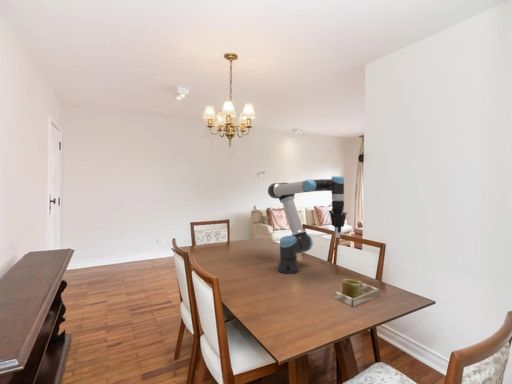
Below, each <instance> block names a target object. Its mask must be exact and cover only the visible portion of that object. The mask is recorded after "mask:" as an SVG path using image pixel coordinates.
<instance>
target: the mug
mask: <svg viewBox="0 0 512 384" xmlns="http://www.w3.org/2000/svg"><path fill="white" fill-rule="evenodd" d="M362 283H363V282H362V281H360V280H354V279H349V278H348V279H347V278H344V279H342V294H343V295H346V296H348V297H351V298H356V297H358V296H360V292H361V290H360V289H361V288H362Z"/></svg>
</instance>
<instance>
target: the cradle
mask: <svg viewBox="0 0 512 384" xmlns="http://www.w3.org/2000/svg"><path fill="white" fill-rule="evenodd" d="M360 291H364V292H365V293H364V294H362V295H359V296H358V297H356V298H351V297H348V296H346V295H343V293H341V292H338V291H337V290H336V291H334V296H333V297H334V299H335V300H338V301H339V302H342V303H344V304H346V305H348V306H350V307H353V308H354V307H357V306H359V305H361V304H364V303H367V302H369V301H371V300H373V299H377V298H378V297H380V296H381V289H380V288H376V287H374V286H371V285H369V284H365V283H363V282H362V288H361V289H360Z"/></svg>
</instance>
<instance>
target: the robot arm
mask: <svg viewBox="0 0 512 384" xmlns="http://www.w3.org/2000/svg"><path fill="white" fill-rule="evenodd" d="M325 191H327V192H331V200H332V201H331V210H328V213H329V216H330V220H331V225H332V227H334V232H335V238H336V239H337V238H338V239H339V238H341V232H342V228H343V227H344V226H345V221H346V217H347V215H348V212H346V211H345V208H344V207H345V201H344V200H345V178H344V176H342V175H337V176H336V175H333V176H331V178H330V179H324V178H320V179H306V180H301V181H296V182H280V183H279V182H276V183H275V182H274V183H272V184H270V185H269V186H268V188H267V194H268V196H270V198H272V199H279V202H280V203H281V204H282V206H283V208H284V212H285V214H286V218H287V219H286V220H287V222H288V225H289V228H290V230H291V235H284V236H282V237H281V238H280V240H279V262H278V265H277V272H279V273H281V274H286V275H287V274H289V275H291V274H297V273H299V272H300V266H299V262H298V257H297V256H298V254H302V253H306V252H308V251H310V250H312V248H313V245H314V242H313V238H312V237H311V236H310V235H309V234H307V231H306V230H304V228H303V226H302V225H303V224H302V221H301V218H300V216H299V214H298V210H297V207H296V205H295V201H294V199H295V194H304V193H312V192H313V193H314V192H325Z"/></svg>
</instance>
